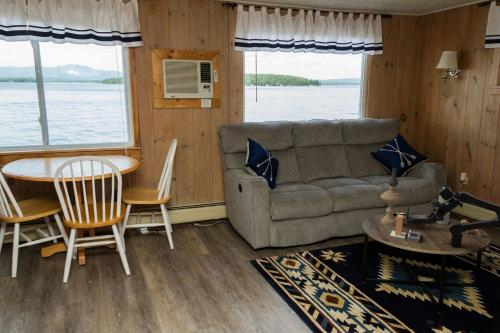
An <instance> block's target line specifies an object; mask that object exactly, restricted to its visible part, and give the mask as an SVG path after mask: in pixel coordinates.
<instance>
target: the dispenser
mask: <svg viewBox="0 0 500 333" xmlns="http://www.w3.org/2000/svg"><path fill="white" fill-rule="evenodd" d="M420 239H421V232H418V231H413V230H411V229H409V231H408V233H407V237H406V240H407V241H410V242H416V243H420Z"/></svg>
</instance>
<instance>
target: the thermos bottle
mask: <svg viewBox="0 0 500 333" xmlns="http://www.w3.org/2000/svg"><path fill="white" fill-rule="evenodd" d="M446 187H449V189H450V190H451V185H448V184H442V189H444V188H446ZM438 195H439V194H438ZM449 200H450V199H449ZM438 201H439V202H441V203H443V202H447V201H448V200H444V199H443V198H442V197H441V196H440V195H439V196H438ZM450 213H451V212H448V213H447V214H445V216H444V220H443V221H437V222H436V223H437V224H440V225H446V226H447V225H449V221H450Z"/></svg>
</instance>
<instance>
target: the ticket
mask: <svg viewBox="0 0 500 333" xmlns="http://www.w3.org/2000/svg"><path fill="white" fill-rule="evenodd" d="M396 220H397V221H396V225H395V230H394V231H395V235H398V236H401V233H402V232H403V224H404V223H403V221H404V215H403V214H397V216H396Z"/></svg>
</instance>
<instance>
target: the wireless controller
mask: <svg viewBox="0 0 500 333" xmlns="http://www.w3.org/2000/svg"><path fill="white" fill-rule="evenodd" d="M410 202H411V200H408V206H407V212H406V214H405V216H404V217H405V220H406V221H405V223H406V224H407V223H412V224H433V223H434V222H430V223H428V222H427V221H428V220H429V219H430V218H428V216H429V215H430V214H429V215H428V214H427V213H418V214H417V213H416V214H413V213H412V214H410Z"/></svg>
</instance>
